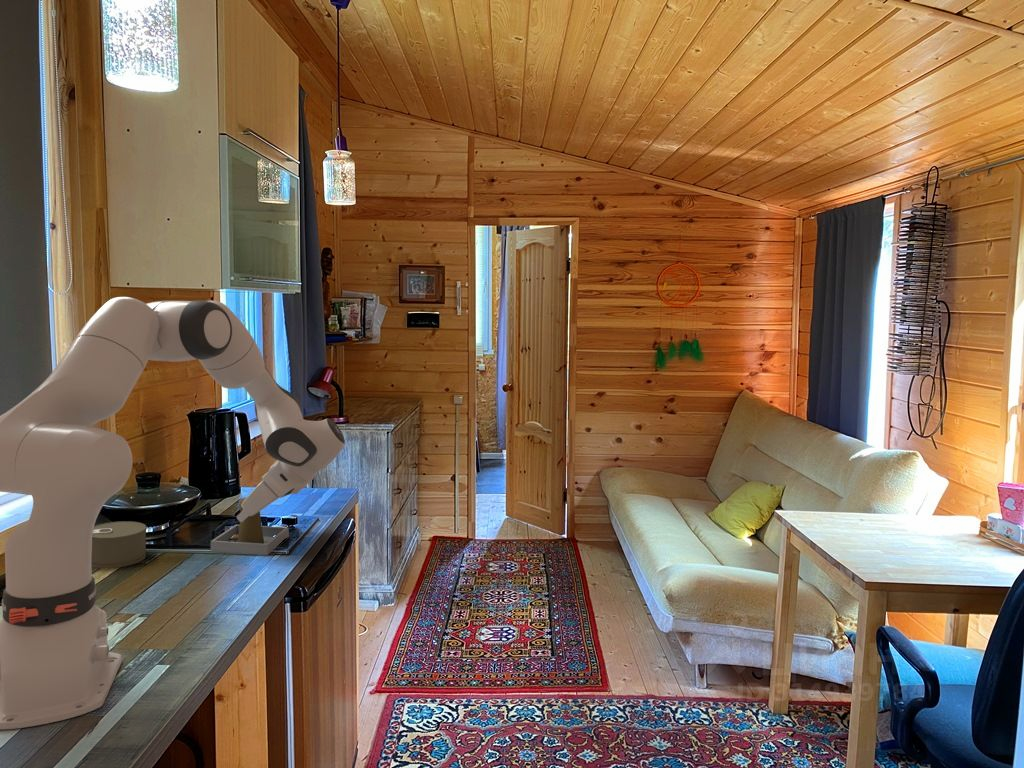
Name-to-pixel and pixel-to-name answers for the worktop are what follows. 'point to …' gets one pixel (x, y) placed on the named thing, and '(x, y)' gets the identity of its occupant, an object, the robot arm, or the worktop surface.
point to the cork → (250, 528)
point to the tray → (250, 548)
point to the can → (118, 544)
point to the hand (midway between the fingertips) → (248, 513)
